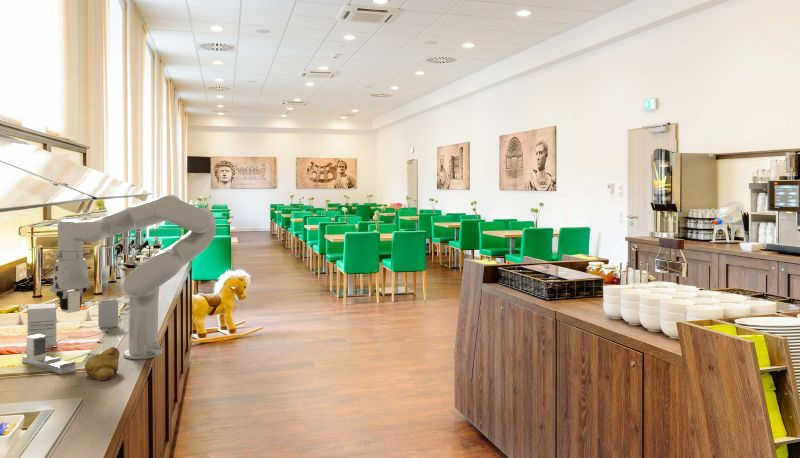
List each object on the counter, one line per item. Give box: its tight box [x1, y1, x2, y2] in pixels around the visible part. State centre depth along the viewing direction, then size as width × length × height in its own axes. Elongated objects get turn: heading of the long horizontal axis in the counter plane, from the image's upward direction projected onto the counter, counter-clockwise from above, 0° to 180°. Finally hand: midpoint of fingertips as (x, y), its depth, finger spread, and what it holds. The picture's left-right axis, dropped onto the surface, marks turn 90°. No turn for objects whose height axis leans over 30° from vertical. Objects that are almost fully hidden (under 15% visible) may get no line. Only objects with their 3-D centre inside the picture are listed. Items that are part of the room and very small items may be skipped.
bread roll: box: [84, 346, 120, 381], centre depth 184 cm, size 13×10×8 cm
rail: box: [22, 334, 76, 375], centre depth 191 cm, size 22×4×9 cm, turn 61°
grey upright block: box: [97, 297, 119, 330], centre depth 244 cm, size 8×8×12 cm
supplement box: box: [27, 302, 57, 349], centre depth 214 cm, size 9×9×15 cm
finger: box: [61, 289, 81, 314], centre depth 201 cm, size 5×4×7 cm
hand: (70, 308), depth 201 cm, fingers closed on finger, 4 cm apart
